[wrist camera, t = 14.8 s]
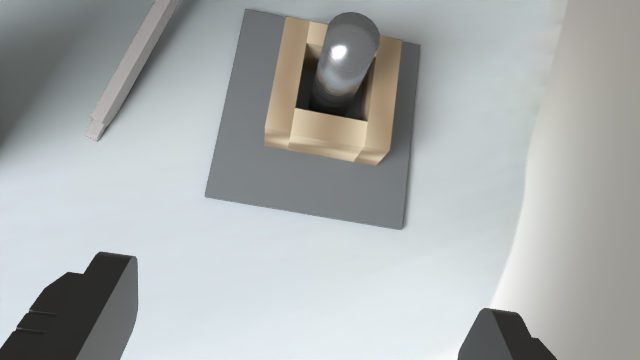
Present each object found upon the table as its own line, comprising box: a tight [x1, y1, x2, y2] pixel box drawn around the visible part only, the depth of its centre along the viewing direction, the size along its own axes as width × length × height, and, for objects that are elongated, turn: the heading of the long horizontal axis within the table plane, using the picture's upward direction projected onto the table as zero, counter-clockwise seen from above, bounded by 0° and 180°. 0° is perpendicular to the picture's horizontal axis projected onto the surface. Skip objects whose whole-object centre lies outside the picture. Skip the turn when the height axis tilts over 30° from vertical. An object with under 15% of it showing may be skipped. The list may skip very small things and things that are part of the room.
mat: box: [205, 9, 420, 230], centre depth 36 cm, size 15×16×1 cm
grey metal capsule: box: [309, 12, 380, 117], centre depth 31 cm, size 3×3×10 cm
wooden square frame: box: [264, 16, 402, 166], centre depth 34 cm, size 9×9×4 cm
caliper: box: [85, 0, 180, 141], centre depth 34 cm, size 20×1×6 cm, turn 154°
